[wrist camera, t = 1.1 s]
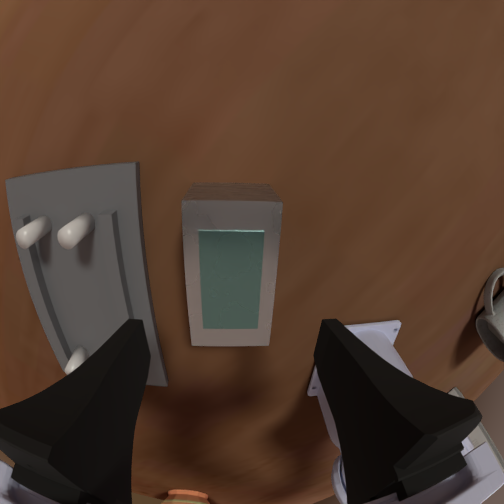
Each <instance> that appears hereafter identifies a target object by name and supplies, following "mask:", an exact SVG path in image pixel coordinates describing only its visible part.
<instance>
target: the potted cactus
mask: <svg viewBox="0 0 504 504" xmlns="http://www.w3.org/2000/svg"><path fill="white" fill-rule="evenodd" d="M207 499H208V495H206V494H205V493H201V492H198V491H191V490H179V489H176V490H169V491H168V497H167V498H166V499H165V500H164V501H163V502H162V503H161V504H210V503H209V502H208V500H207Z"/></svg>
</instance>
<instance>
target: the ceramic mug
mask: <svg viewBox="0 0 504 504" xmlns="http://www.w3.org/2000/svg"><path fill="white" fill-rule="evenodd" d="M502 275H504V268H499V269H497V270H495V271H494V272H493V273H492V274H491V276H490V277H489V279H488V280H487V283H486V286H485V290H484V305H485V310H484V311H483V312H482V313H481V314H480V315H479V316H478V317H477V319H476V328H477V331H478V334H479V336H480V338H481V339H482V341H483V343H484V344H485V345H486V347H487V348H488V349H489V351H490V352H491V353H492V354H493V355H494V356H495V357H496V358H498V359H499V360H501V361H503V362H504V290H503V291H502V292H501V293H500V294H499V295H498V297H497V298H496V299H495V300H494V301H493V302H492V295H493V289H494V286H495V283H496V281H497V279H498V278H499V277H500V276H502Z"/></svg>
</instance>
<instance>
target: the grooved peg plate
mask: <svg viewBox="0 0 504 504" xmlns="http://www.w3.org/2000/svg"><path fill="white" fill-rule="evenodd" d="M5 181H6V190H7V198H8V205H9V211H10V217H11V223H12V228H13V233H14V237H15V242H16V246H17V250H18V254H19V258H20V262H21V266H22V269H23V273H24V276H25V279H26V282H27V286H28V289H29V292H30V295H31V297H32V300H33V303H34V306H35V309H36V311H37V314H38V316H39V319H40V321H41V324H42V326H43V329H44V331H45V333H46V336H47V338H48V340H49V342H50V345H51V347H52V349H53V351H54V353H55V355H56V357H57V359H58V361H59V363H60V365H61V367H62V369H63V371H64V372H65V373H66V374H67V375H68V374H70V373H71V372H72V371H74V370H75V369H76V368H77V367H79V366H80V365H81V364H82V363H83V362H84V361H86V360H87V359H88V358H89V357H90V356H91V355H92V354H93V353H94V352H96V351H97V350H98V349H99V348H100V347H101V346H102V345H103V344H104V343H105V342H106V341H107V340H108V339H109V338H110V337H111V336H112V335H113V334H114V333H115V332H116V331H117V330H118V329H119V328H120V327H121V326H122V325H123V324H124V323H125V322H126V321H127V320H128V319H141V320H143V324H144V328H145V333H146V337H147V342H148V346H149V350H150V354H151V360H150V367H149V373H148V379H147V382H146V385H154V386H166V387H167V386H168V377H167V373H166V368H165V364H164V360H163V355H162V351H161V346H160V341H159V336H158V331H157V326H156V320H155V315H154V309H153V303H152V297H151V290H150V284H149V277H148V269H147V261H146V253H145V244H144V234H143V223H142V210H141V194H140V171H139V162H126V163H113V164H102V165H93V166H84V167H75V168H68V169H61V170H54V171H47V172H41V173H35V174H29V175H24V176H19V177H14V178H10V179H7V180H5Z"/></svg>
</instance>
